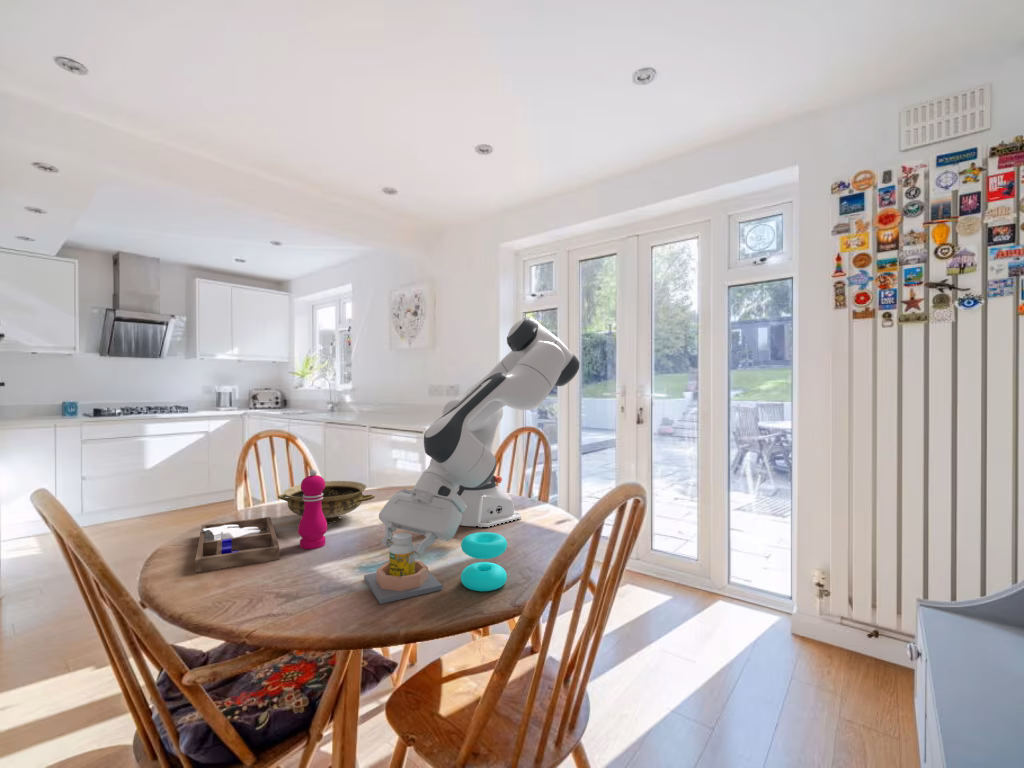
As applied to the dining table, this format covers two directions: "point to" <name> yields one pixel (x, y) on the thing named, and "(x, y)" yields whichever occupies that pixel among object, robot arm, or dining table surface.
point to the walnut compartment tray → (238, 547)
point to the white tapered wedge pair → (228, 532)
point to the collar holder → (401, 583)
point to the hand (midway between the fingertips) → (400, 548)
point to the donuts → (483, 573)
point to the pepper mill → (312, 513)
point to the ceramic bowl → (330, 498)
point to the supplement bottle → (401, 555)
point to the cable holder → (227, 546)
